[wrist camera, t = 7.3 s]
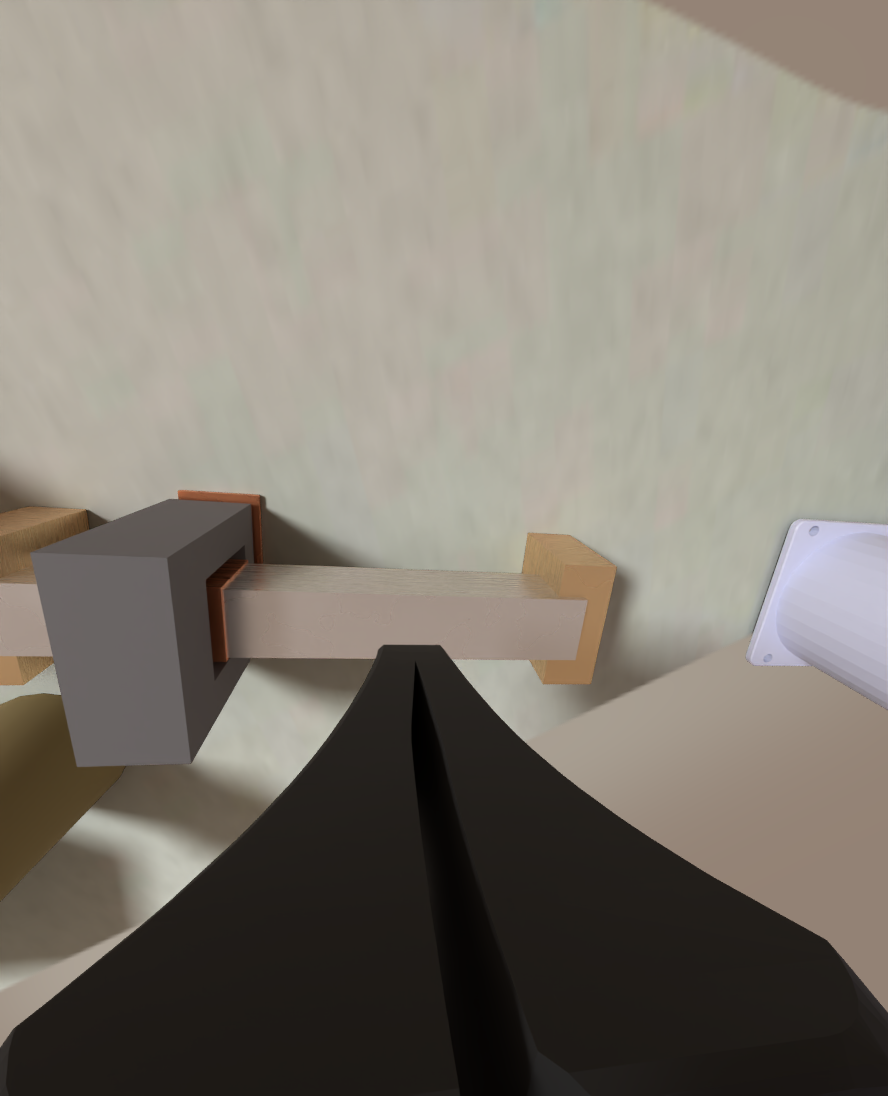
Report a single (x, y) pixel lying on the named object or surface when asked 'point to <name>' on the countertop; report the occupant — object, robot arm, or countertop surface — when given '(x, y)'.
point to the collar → (141, 630)
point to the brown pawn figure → (40, 783)
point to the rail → (345, 603)
